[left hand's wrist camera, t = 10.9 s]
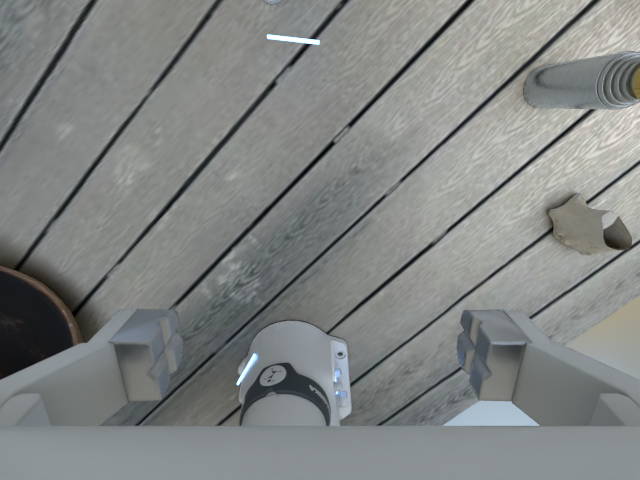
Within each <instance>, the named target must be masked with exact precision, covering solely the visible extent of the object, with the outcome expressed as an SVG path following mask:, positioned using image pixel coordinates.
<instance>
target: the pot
mask: <svg viewBox="0 0 640 480" xmlns="http://www.w3.org/2000/svg"><path fill="white" fill-rule="evenodd" d="M80 343H84V342H83V338H82V335H81V333H80V329H79V326H78V324H77V322H76V320H75V319H74V317H73V315H72V313H71V311H70V310H69V309H68V308H67V307H66V306H65V304H64V303H63V302H62V300H61V299H60V298H59V297H58V296H57V295H56V294H55V293H54V292H53V291H51V290H50V289H49V288H48V287H47V286H46V285H44V284H43V283H41V282H39V281H38V280H36V279H34V278H32V277H30V276H28V275H25V274H23V273H20V272H18V271H15V270H12V269H9V268H6V267H3V266H0V380H1V379H3V378H6V377H8V376H10V375H12V374H14V373H17V372H19V371H21V370H23V369H25V368H28V367H30V366H32V365H34V364H36V363H38V362H41V361H43V360H45V359H47V358H49V357H52V356H54V355H56V354H58V353H60V352H62V351H65V350H67V349H69V348H71V347H73V346H76V345H78V344H80Z"/></svg>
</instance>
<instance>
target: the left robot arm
mask: <svg viewBox="0 0 640 480" xmlns="http://www.w3.org/2000/svg"><path fill="white" fill-rule="evenodd" d="M179 324H180V321H179V316H178V313H177V312H176V311H175V310H159V309H122V310H118V311H117V312H116V313H115V315H114V316H113V317H112V318H111V319H110V320H109V321H108V322H107V323H106V324H105V325H104V326H103V327H102V328H101V329H100V330H99V331H98V332H97V333H96V334H95V335H94V336H93V337H92V338H91V339H90V340H89V341H88V343H80V344H78V345H76V346H73V347H71V348H69V349H67V350H65V351H62V352H60V353H58V354H56V355H54V356H52V357H49V358H47V359H45V360H43V361H41V362H38V363H36V364H34V365H32V366H30V367H28V368H25V369H23V370H21V371H19V372H17V373H14V374H12V375H10V376H8V377H6V378H3V379H1V380H0V480H640V380H639V379H636V378H634V377H632V376H630V375H628V374H625V373H623V372H621V371H619V370H617V369H614V368H612V367H610V366H608V365H606V364H604V363H601V362H599V361H597V360H595V359H593V358H591V357H588V356H586V355H584V354H582V353H580V352H577V351H575V350H573V349H571V348H569V347H566V346H564V345H562V344H560V343H553V342H552V341H551V340H550V339H549V338H548V337H547V336H546V335H545V334H544V333H543V332H542V331H541V330H540V329H539V328H538V327H537V326H536V325H535V324H534V323H533V322H532V321H531V320H530V319H529V318H528V316H527V315H526V314H525V313H524V312H523V311H522V310H519V309H499V310H464V311H463V313H462V316H461V321H460V324H461V325H462V327H463V329H464V331H463V332H462V333H461V334H460V335H459V336H458V340H457V356H458V359H459V363H460V365H461V367H462V369H463V370H464V371H465V372H467V373H468V374H470V380H469V382H470V384H471V386H472V388H473V390H474V392H475V393H476V395H477V397H478V399H479V400H483V401H512V403H513V404H514V405H515V406H517V407H518V408H519V409H520V410H522V411H523V412H524V413H525V414H527V415H528V416H529V417H530V418H532V419H533V420H534V421H535V422H537V423H538V424H539V425H540V426H340V420H341V419H343V418H345V417H346V416H347V415H348V414H350V413H351V408H352V404H351V390H350V376H349V363H348V349H347V343H346V342H345V341H344V340H342V339H340V338H336V337H332V336H329V335H327V334H326V333H324V332H323V331H321V330H320V329H318V328H317V327H315V326H313V325H311V324H308V323H305V322H300V321H282V322H277V323H274V324H272V325H269V326H267V327H266V328H264V329H263V330H261V331H260V332H259V333H258V334H257V335H256V336H255V338H254V339H253V341H252V343H251V345H250V349H249V352H248V355H247V356H246V357H245V358H244V359H243V360H242V362H241V363H240V364H239V367H238V373H239V375H240V376H241V377H240V378H239V380H238V382H237V385H239V383H240V382H241V380H242V382H241V388H240V394H239V401H240V403H242V407H241V412H240V414H241V415H240V426H100V425H101V424H102V423H103V422H105V421H106V420H107V419H108V418H110V417H111V416H112V415H114V414H115V413H116V412H117V411H119V410H120V409H121V408H122V407H124V406H125V405H126V404H127V403H128V401H156V400H161V399H162V397H163V395H164V394H165V392H166V390H167V388H168V386H169V384H170V382H171V380H170V374H172V373H173V372H175V371H176V370H177V369H178V367H179V365H180V363H181V359H182V355H183V340H182V336H181V335H180V334H179V333H178V332H177V331H176V329H177V327H178V325H179ZM339 352H342V353H341V354H339Z"/></svg>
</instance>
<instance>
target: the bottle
mask: <svg viewBox="0 0 640 480" xmlns="http://www.w3.org/2000/svg"><path fill="white" fill-rule="evenodd" d="M639 67H640V52H634V51H628V52H621V53H615V54H610V55H604V56H598V57H592V58H586V59H580V60H574V61H568V62H563V63H557V64H551V65H545V66H541V67H539V68H537V69H535V70H534V71H533V72H532V73H531V74H530V75H529V76H528V78H527V80H526V82H525V84H524V97H525V100H526V101H527V103H528V104H529V105H531V106H533V107H536V108H569V109H622V108H626V107H630V106H632V105H634V104H636V103H638V102H640V100H639V99H638V98H637V97H636V96H635V94H634V90H633V80H634V77H635V74H636V72H637V70H638V69H639Z"/></svg>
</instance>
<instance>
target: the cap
mask: <svg viewBox="0 0 640 480" xmlns="http://www.w3.org/2000/svg"><path fill="white" fill-rule="evenodd" d="M633 90H634V94H635V96H636V97H637V98H638V99H639V100H640V67H639V69H638V70H637V72H636V74H635V77H634V80H633Z"/></svg>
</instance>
